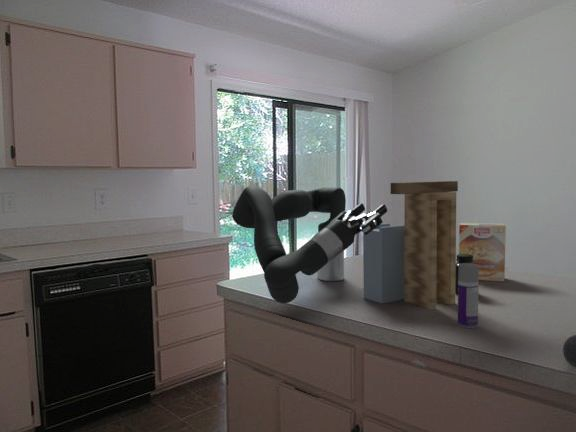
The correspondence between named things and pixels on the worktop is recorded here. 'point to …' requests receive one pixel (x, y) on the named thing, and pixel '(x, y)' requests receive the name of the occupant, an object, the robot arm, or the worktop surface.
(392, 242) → the tall grey pillar
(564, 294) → the worktop surface
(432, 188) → the rail
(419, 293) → the slotted wooden post
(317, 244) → the robot arm
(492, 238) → the coffeecake box
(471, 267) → the container
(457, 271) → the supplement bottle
